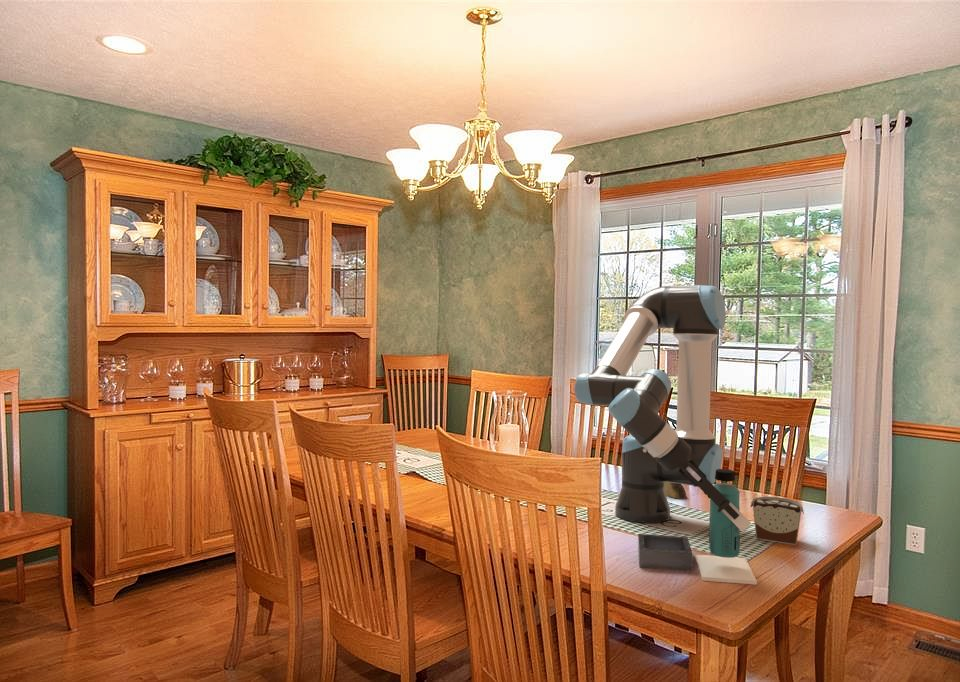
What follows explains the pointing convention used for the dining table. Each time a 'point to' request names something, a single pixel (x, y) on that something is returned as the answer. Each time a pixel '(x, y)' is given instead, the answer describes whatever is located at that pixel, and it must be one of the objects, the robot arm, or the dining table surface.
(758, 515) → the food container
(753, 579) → the coaster pad
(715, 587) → the dining table surface
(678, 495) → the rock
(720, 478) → the beverage bottle
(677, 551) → the bottle holder
